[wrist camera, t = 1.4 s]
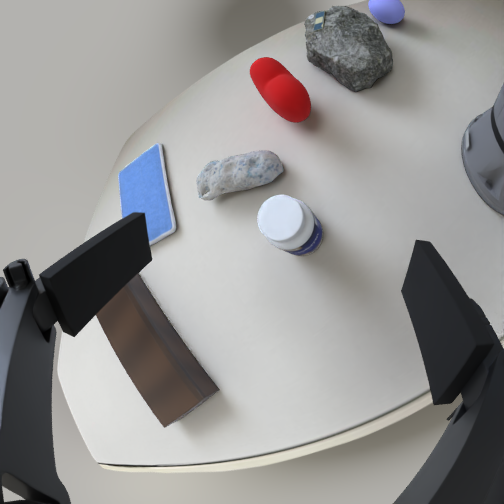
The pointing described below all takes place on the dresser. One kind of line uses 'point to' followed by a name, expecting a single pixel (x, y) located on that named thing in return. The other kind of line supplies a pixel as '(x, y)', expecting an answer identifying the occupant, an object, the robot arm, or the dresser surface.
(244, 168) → the decorative stone
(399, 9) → the sphere
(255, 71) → the heart
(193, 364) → the ledge
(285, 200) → the pill bottle
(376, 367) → the dresser surface
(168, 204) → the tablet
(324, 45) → the rock
